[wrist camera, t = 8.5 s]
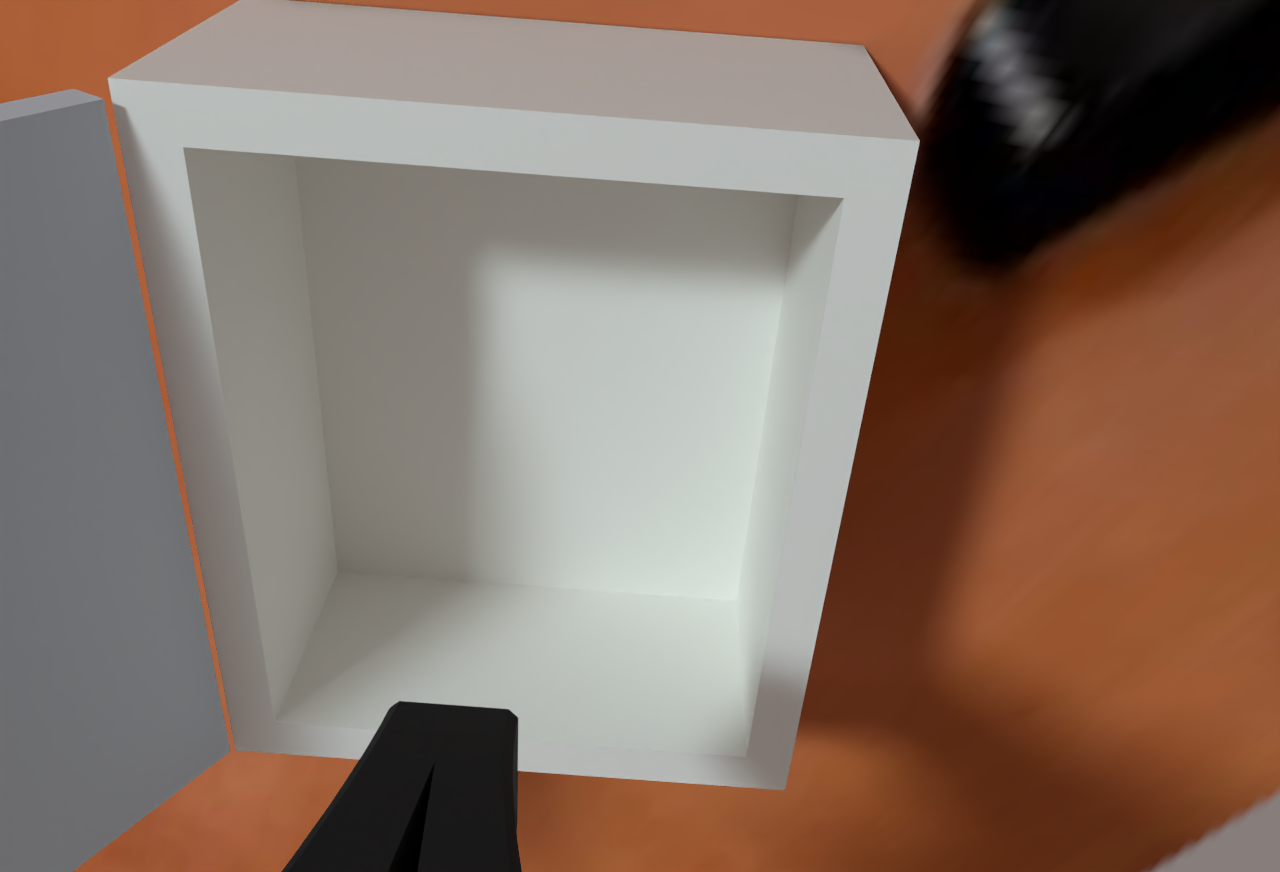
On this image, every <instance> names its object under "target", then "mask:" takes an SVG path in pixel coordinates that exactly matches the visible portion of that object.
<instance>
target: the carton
mask: <svg viewBox="0 0 1280 872" xmlns="http://www.w3.org/2000/svg"><path fill="white" fill-rule="evenodd" d="M108 83H109V88H110V93H111V99H112V104H113V109H114V114H115V120H116V125H117V130H118V135H119V141H120V146H121V151H122V156H123V162H124V167H125V172H126V177H127V183H128V188H129V193H130V198H131V204H132V209H133V214H134V219H135V225H136V230H137V235H138V240H139V246H140V251H141V256H142V261H143V267H144V272H145V277H146V282H147V288H148V293H149V298H150V303H151V309H152V314H153V319H154V324H155V330H156V335H157V340H158V345H159V351H160V356H161V361H162V366H163V372H164V377H165V382H166V387H167V393H168V398H169V403H170V408H171V414H172V419H173V424H174V429H175V435H176V440H177V445H178V450H179V456H180V461H181V466H182V471H183V477H184V482H185V487H186V492H187V498H188V503H189V508H190V513H191V519H192V524H193V529H194V534H195V540H196V545H197V550H198V555H199V561H200V566H201V571H202V576H203V582H204V587H205V592H206V597H207V603H208V608H209V613H210V618H211V624H212V629H213V634H214V639H215V645H216V650H217V655H218V660H219V666H220V671H221V676H222V681H223V687H224V692H225V697H226V702H227V708H228V713H229V718H230V723H231V729H232V734H233V739H234V744H235V750H237V751H251V752H265V753H278V754H292V755H306V756H320V757H333V758H347V759H360V758H361V757H362V755H363V753H364V752H365V750H366V748H367V747H368V745H369V743H370V742H371V740H372V738H373V737H374V735H375V733H376V732H377V730H378V728H379V726H380V725H381V723H382V721H383V719H384V717H385V715H386V714H387V712H388V710H389V708H390V707H391V706H393V705H394V704H396V703H397V702H399V701H406V702H419V703H433V704H446V705H460V706H473V707H486V708H500V709H509V710H510V711H511V712H512V713H514V714H515V715H516V716H517V717H518V771H527V772H540V773H554V774H568V775H582V776H596V777H609V778H623V779H637V780H651V781H664V782H678V783H692V784H706V785H720V786H733V787H747V788H761V789H775V790H785V787H786V782H787V777H788V773H789V768H790V763H791V758H792V753H793V749H794V744H795V739H796V734H797V729H798V724H799V720H800V715H801V710H802V705H803V700H804V696H805V691H806V686H807V681H808V676H809V672H810V667H811V662H812V657H813V652H814V648H815V643H816V638H817V633H818V628H819V623H820V619H821V614H822V609H823V604H824V599H825V595H826V590H827V585H828V580H829V575H830V571H831V566H832V561H833V556H834V551H835V547H836V542H837V537H838V532H839V527H840V523H841V518H842V513H843V508H844V503H845V498H846V494H847V489H848V484H849V479H850V474H851V470H852V465H853V460H854V455H855V450H856V446H857V441H858V436H859V431H860V426H861V422H862V417H863V412H864V407H865V402H866V397H867V393H868V388H869V383H870V378H871V373H872V369H873V364H874V359H875V354H876V349H877V345H878V340H879V335H880V330H881V325H882V321H883V316H884V311H885V306H886V301H887V296H888V292H889V287H890V282H891V277H892V272H893V268H894V263H895V258H896V253H897V248H898V244H899V239H900V234H901V229H902V224H903V220H904V215H905V210H906V205H907V200H908V195H909V191H910V186H911V181H912V176H913V171H914V167H915V162H916V157H917V152H918V147H919V143H920V140H919V139H918V137H917V135H916V134H915V132H914V130H913V129H912V127H911V125H910V123H909V122H908V120H907V118H906V117H905V115H904V113H903V112H902V110H901V108H900V106H899V105H898V103H897V101H896V100H895V98H894V96H893V95H892V93H891V91H890V89H889V88H888V86H887V84H886V83H885V81H884V79H883V78H882V76H881V74H880V73H879V71H878V69H877V67H876V66H875V64H874V62H873V61H872V59H871V57H870V56H869V54H868V52H867V50H866V49H865V47H864V45H852V44H839V43H827V42H814V41H801V40H788V39H775V38H763V37H750V36H737V35H724V34H711V33H699V32H686V31H673V30H660V29H648V28H635V27H622V26H609V25H596V24H584V23H571V22H558V21H545V20H533V19H520V18H507V17H494V16H481V15H469V14H456V13H443V12H430V11H417V10H405V9H392V8H379V7H366V6H354V5H341V4H328V3H315V2H302V1H290V0H239V1H238V2H236V3H234V4H233V5H231V6H229V7H227V8H226V9H224V10H222V11H221V12H219V13H217V14H216V15H214V16H212V17H210V18H209V19H207V20H205V21H204V22H202V23H200V24H199V25H197V26H195V27H193V28H192V29H190V30H188V31H187V32H185V33H183V34H182V35H180V36H178V37H176V38H175V39H173V40H171V41H170V42H168V43H166V44H165V45H163V46H161V47H159V48H158V49H156V50H154V51H153V52H151V53H149V54H148V55H146V56H144V57H142V58H141V59H139V60H137V61H136V62H134V63H132V64H131V65H129V66H127V67H125V68H124V69H122V70H120V71H119V72H117V73H115V74H114V75H112V76H110V77H108Z"/></svg>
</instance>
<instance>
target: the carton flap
mask: <svg viewBox="0 0 1280 872" xmlns="http://www.w3.org/2000/svg"><path fill="white" fill-rule="evenodd" d="M229 752H230V747H229V742H228V737H227V732H226V727H225V721H224V716H223V711H222V706H221V701H220V696H219V691H218V685H217V680H216V675H215V670H214V665H213V660H212V655H211V649H210V644H209V639H208V634H207V629H206V624H205V619H204V613H203V608H202V603H201V598H200V593H199V588H198V583H197V577H196V572H195V567H194V562H193V557H192V552H191V547H190V541H189V536H188V531H187V526H186V521H185V516H184V511H183V505H182V500H181V495H180V490H179V485H178V480H177V475H176V469H175V464H174V459H173V454H172V449H171V444H170V439H169V433H168V428H167V423H166V418H165V413H164V408H163V403H162V397H161V392H160V387H159V382H158V377H157V372H156V367H155V361H154V356H153V351H152V346H151V341H150V336H149V331H148V325H147V320H146V315H145V310H144V305H143V300H142V294H141V289H140V284H139V279H138V274H137V269H136V264H135V258H134V253H133V248H132V243H131V238H130V233H129V228H128V222H127V217H126V212H125V207H124V202H123V197H122V192H121V186H120V181H119V176H118V171H117V166H116V161H115V156H114V150H113V145H112V140H111V135H110V130H109V125H108V120H107V114H106V109H105V104H104V99H102V98H99V97H96V96H93V95H90V94H87V93H85V92H82V91H79V90H76V89H70V90H65V91H60V92H55V93H50V94H46V95H41V96H36V97H31V98H26V99H21V100H16V101H11V102H6V103H1V104H0V872H73V871H74V870H75V869H77V868H78V867H79V866H81V865H82V864H83V863H85V862H86V861H87V860H88V859H90V858H91V857H92V856H94V855H95V854H96V853H98V852H99V851H100V850H102V849H103V848H104V847H106V846H107V845H108V844H109V843H111V842H112V841H113V840H115V839H116V838H117V837H119V836H120V835H121V834H123V833H124V832H125V831H127V830H128V829H129V828H130V827H132V826H133V825H134V824H136V823H137V822H138V821H140V820H141V819H142V818H144V817H145V816H146V815H148V814H149V813H150V812H151V811H153V810H154V809H155V808H157V807H158V806H159V805H161V804H162V803H163V802H165V801H166V800H167V799H169V798H170V797H171V796H172V795H174V794H175V793H176V792H178V791H179V790H180V789H182V788H183V787H184V786H186V785H187V784H188V783H190V782H191V781H192V780H193V779H195V778H196V777H197V776H199V775H200V774H201V773H203V772H204V771H205V770H207V769H208V768H209V767H211V766H212V765H213V764H214V763H216V762H217V761H218V760H220V759H221V758H222V757H224V756H225V755H226V754H228V753H229Z"/></svg>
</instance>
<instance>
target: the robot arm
mask: <svg viewBox="0 0 1280 872" xmlns="http://www.w3.org/2000/svg"><path fill="white" fill-rule="evenodd" d="M517 789H518V717H517V716H516V715H515V714H514V713H512V712H511V711H510V710H509V709H500V708H486V707H473V706H460V705H446V704H433V703H419V702H406V701H399V702H397V703H396V704H394V705H393V706H391V707H390V708H389V710H388V712H387V714H386V715H385V717H384V719H383V721H382V723H381V725H380V726H379V728H378V730H377V732H376V733H375V735H374V737H373V738H372V740H371V742H370V743H369V745H368V747H367V748H366V750H365V752H364V753H363V755H362V757H361V758H360V760H359V761H358V763H357V764H356V766H355V768H354V769H353V771H352V772H351V774H350V775H349V777H348V778H347V780H346V781H345V783H344V784H343V786H342V787H341V789H340V790H339V792H338V793H337V795H336V796H335V798H334V799H333V801H332V803H331V804H330V805H329V807H328V808H327V810H326V811H325V812H324V814H323V815H322V817H321V818H320V819H319V821H318V822H317V824H316V825H315V826H314V828H313V829H312V831H311V832H310V833H309V835H308V836H307V838H306V839H305V840H304V842H303V843H302V845H301V846H300V847H299V849H298V850H297V852H296V853H295V854H294V856H293V857H292V859H291V860H290V861H289V863H288V864H287V865H286V867H285V868H284V869H283V871H282V872H522V871H521V864H520V857H519V850H518V843H517V833H516V830H517Z"/></svg>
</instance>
